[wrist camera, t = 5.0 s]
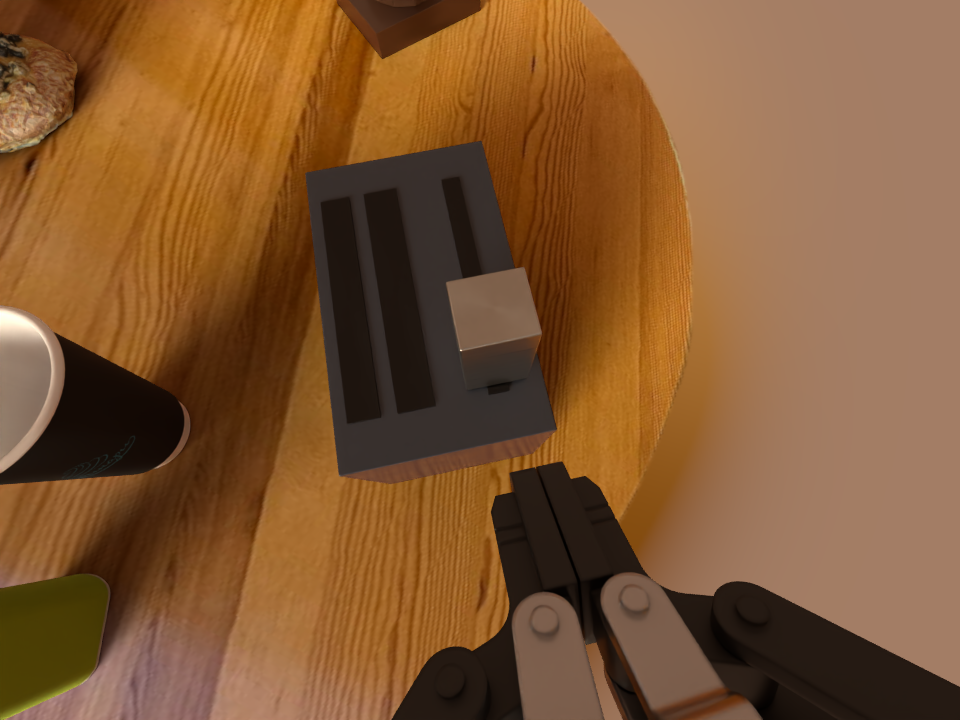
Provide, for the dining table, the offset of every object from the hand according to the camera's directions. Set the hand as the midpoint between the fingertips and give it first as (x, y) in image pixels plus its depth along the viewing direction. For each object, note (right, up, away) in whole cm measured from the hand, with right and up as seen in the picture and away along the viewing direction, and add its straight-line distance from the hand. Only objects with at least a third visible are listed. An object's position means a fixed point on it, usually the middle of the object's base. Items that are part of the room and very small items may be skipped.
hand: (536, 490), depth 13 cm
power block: (-8, +35, +27) cm, 45 cm away
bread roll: (-39, +25, +24) cm, 53 cm away
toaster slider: (-1, +4, +6) cm, 8 cm away
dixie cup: (-22, -1, +16) cm, 28 cm away
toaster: (-4, +4, +17) cm, 18 cm away
